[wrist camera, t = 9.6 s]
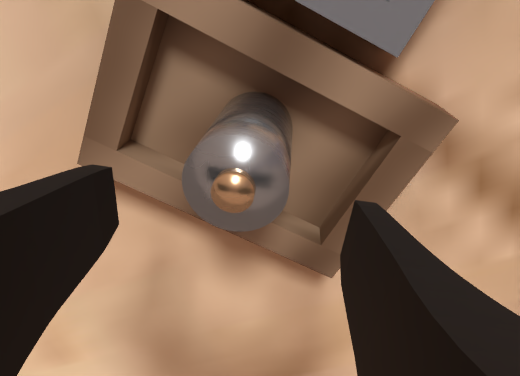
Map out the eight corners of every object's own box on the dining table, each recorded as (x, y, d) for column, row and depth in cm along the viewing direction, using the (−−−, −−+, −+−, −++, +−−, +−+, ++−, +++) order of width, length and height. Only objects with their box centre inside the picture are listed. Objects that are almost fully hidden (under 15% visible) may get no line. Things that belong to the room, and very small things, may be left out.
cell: (296, 94, 16) (293, 146, 10) (289, 166, 17) (283, 245, 12) (218, 88, 16) (173, 136, 10) (219, 159, 18) (180, 234, 12)
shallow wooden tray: (438, 105, 16) (459, 120, 14) (328, 250, 21) (331, 278, 19) (153, -51, 14) (128, -60, 12) (101, 145, 19) (77, 163, 17)
